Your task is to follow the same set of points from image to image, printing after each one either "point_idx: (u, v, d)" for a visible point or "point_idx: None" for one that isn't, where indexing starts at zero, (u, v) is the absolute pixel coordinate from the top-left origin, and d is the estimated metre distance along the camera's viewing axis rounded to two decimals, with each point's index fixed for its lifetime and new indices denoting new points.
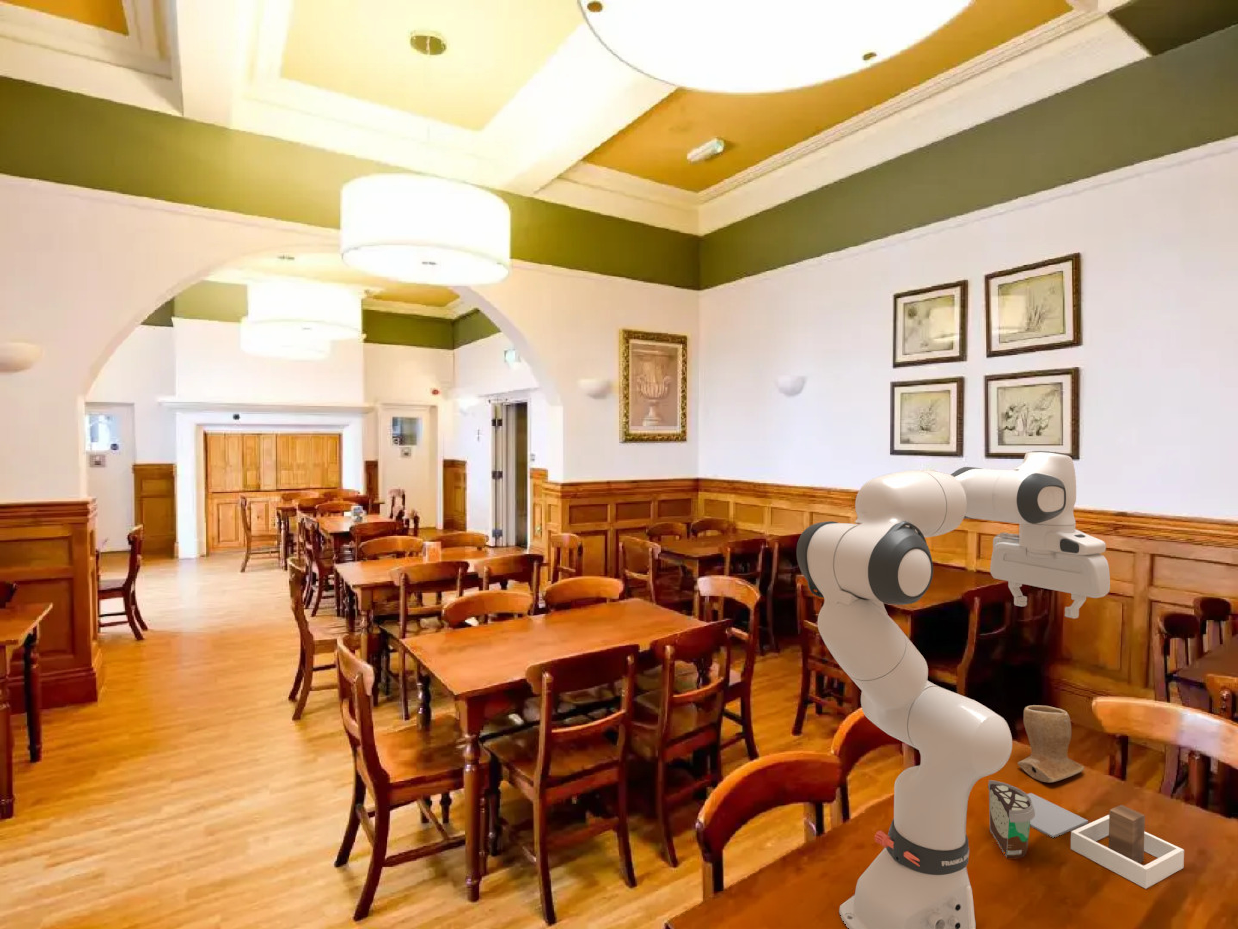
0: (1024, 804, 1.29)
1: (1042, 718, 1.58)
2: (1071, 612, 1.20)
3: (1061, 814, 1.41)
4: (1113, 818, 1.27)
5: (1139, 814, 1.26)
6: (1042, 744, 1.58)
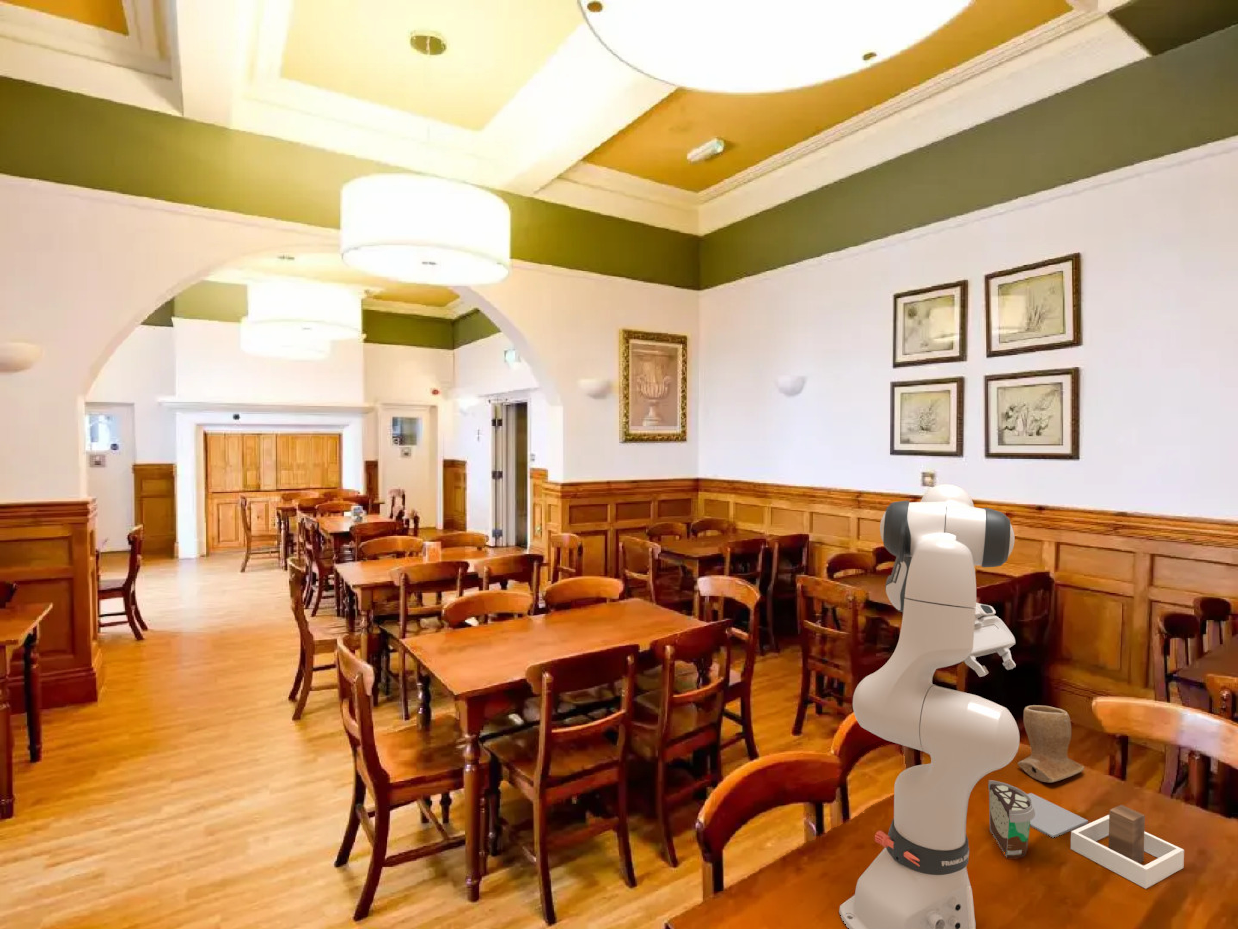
0: (1024, 804, 1.29)
1: (1042, 718, 1.58)
2: (1012, 661, 1.52)
3: (1061, 814, 1.41)
4: (1113, 818, 1.27)
5: (1139, 814, 1.26)
6: (1042, 744, 1.58)
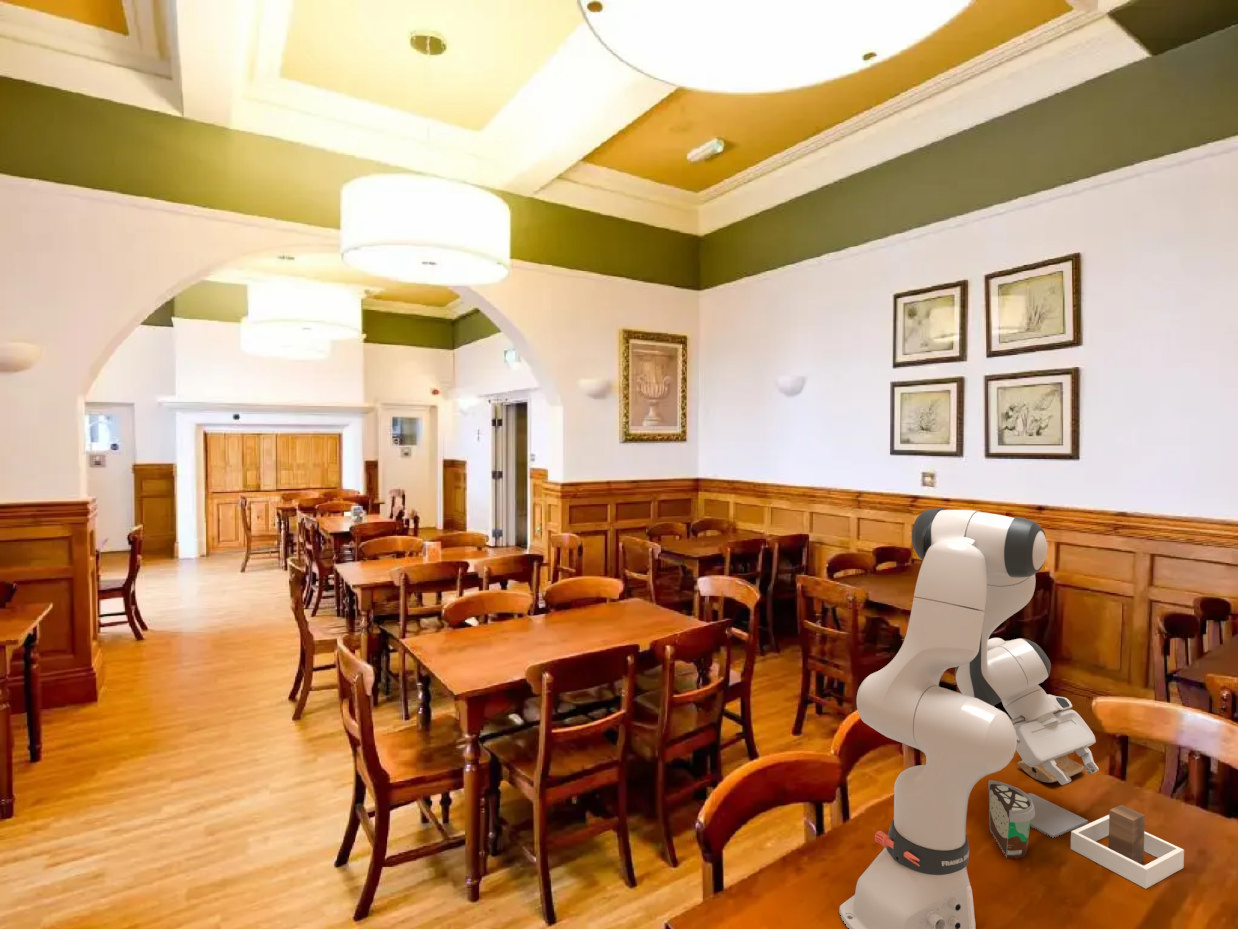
0: (1024, 804, 1.29)
1: None
2: (1094, 764, 1.37)
3: (1061, 814, 1.41)
4: (1113, 818, 1.27)
5: (1139, 814, 1.26)
6: None
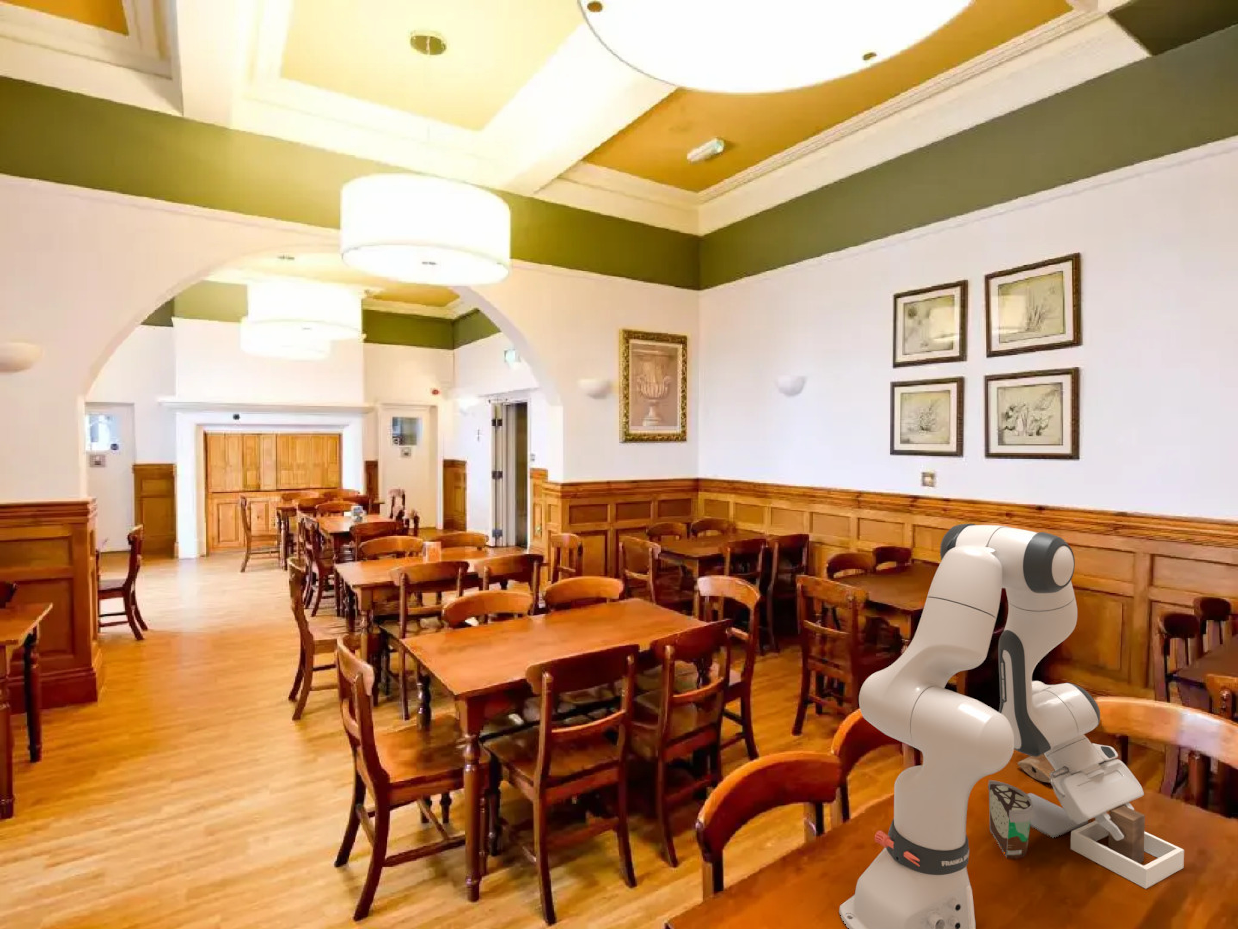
0: (1024, 804, 1.29)
1: None
2: None
3: (1061, 814, 1.41)
4: (1113, 818, 1.27)
5: (1139, 814, 1.26)
6: None
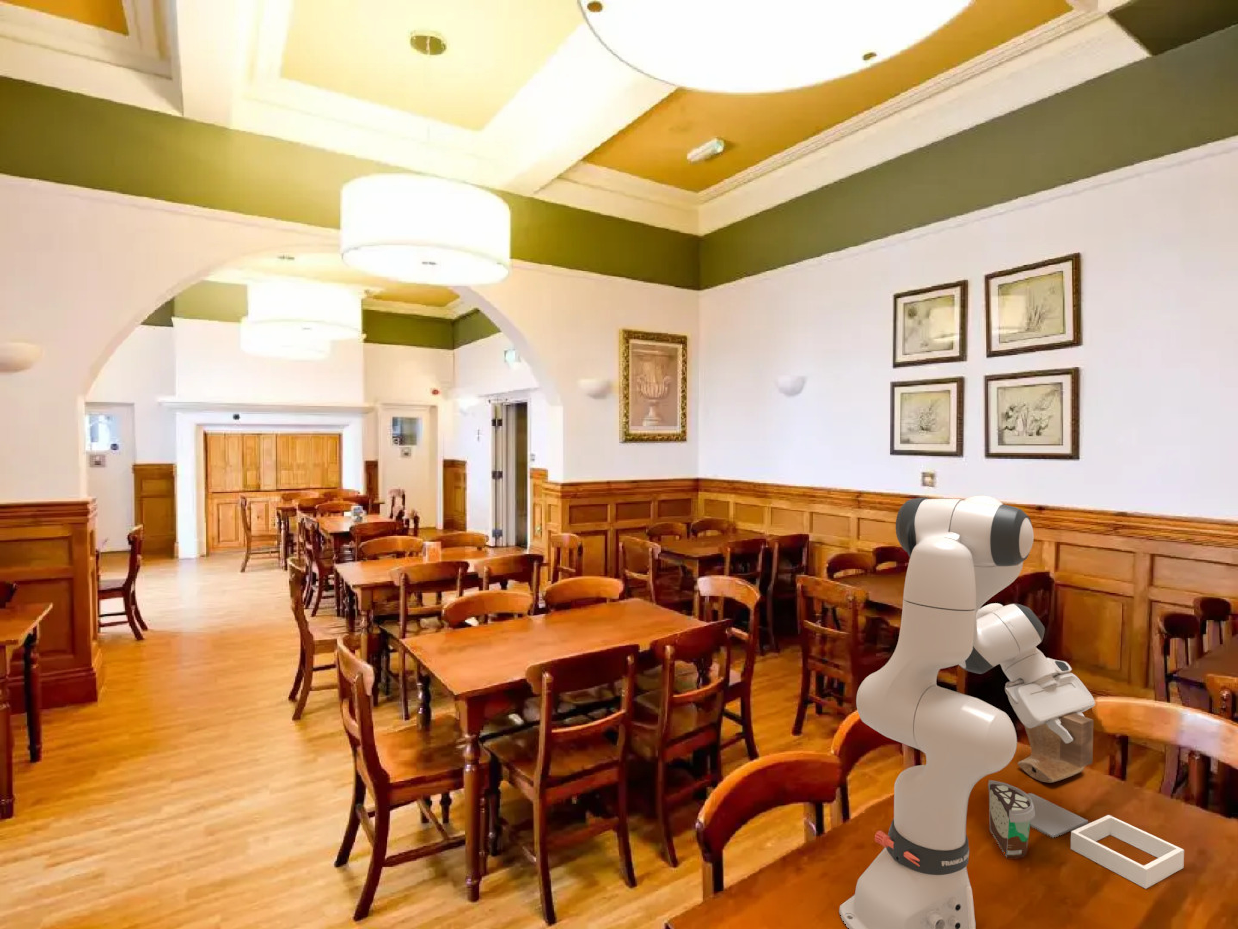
0: (1024, 804, 1.29)
1: None
2: None
3: (1061, 814, 1.41)
4: (1064, 723, 1.35)
5: (1088, 719, 1.34)
6: (1042, 744, 1.58)
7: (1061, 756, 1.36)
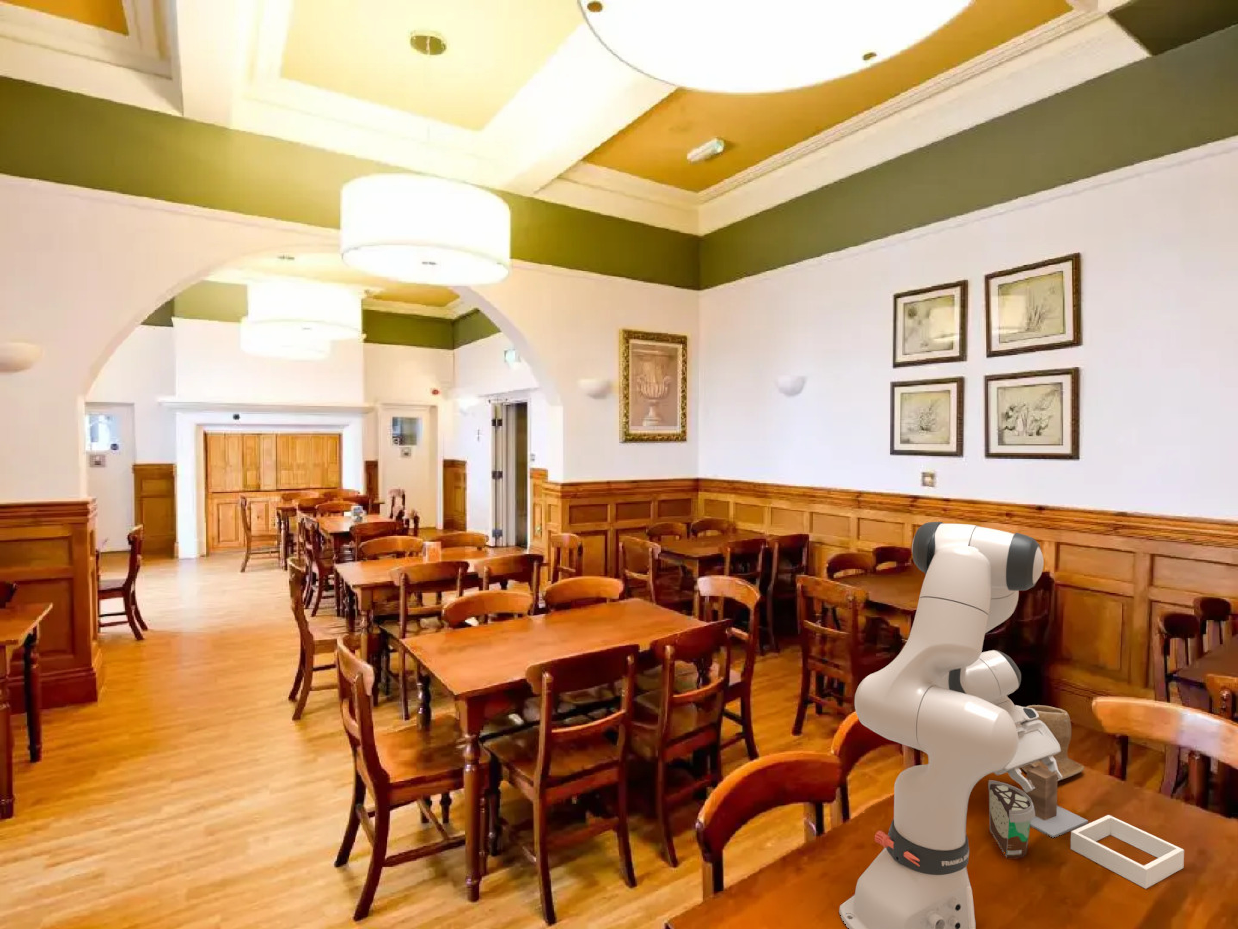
0: (1024, 804, 1.29)
1: (1042, 718, 1.58)
2: (1059, 773, 1.43)
3: (1061, 814, 1.41)
4: (1030, 777, 1.41)
5: (1052, 773, 1.40)
6: None
7: None
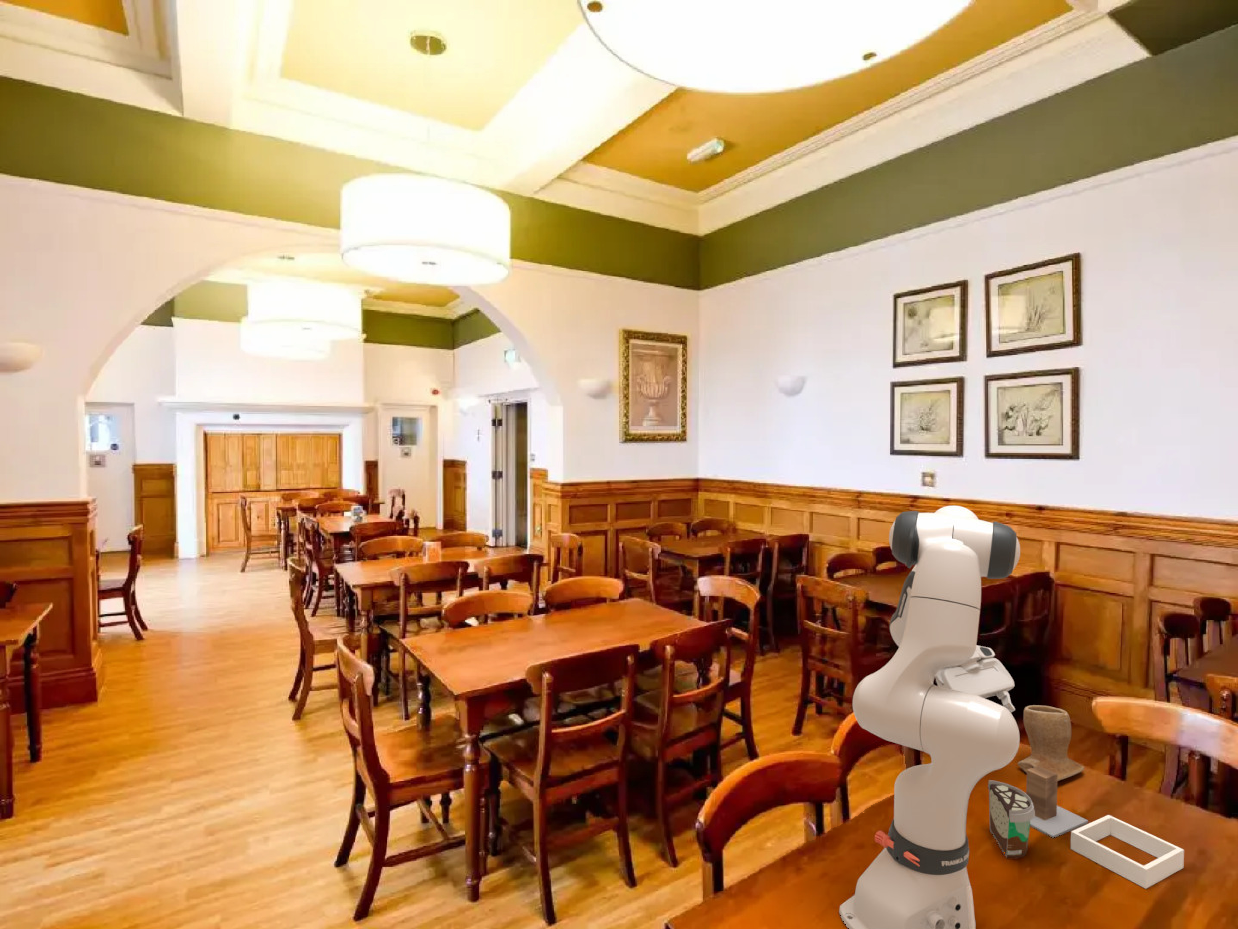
0: (1024, 804, 1.29)
1: (1042, 718, 1.58)
2: (1011, 705, 1.52)
3: (1061, 814, 1.41)
4: (1030, 777, 1.41)
5: (1052, 773, 1.40)
6: (1042, 744, 1.58)
7: None
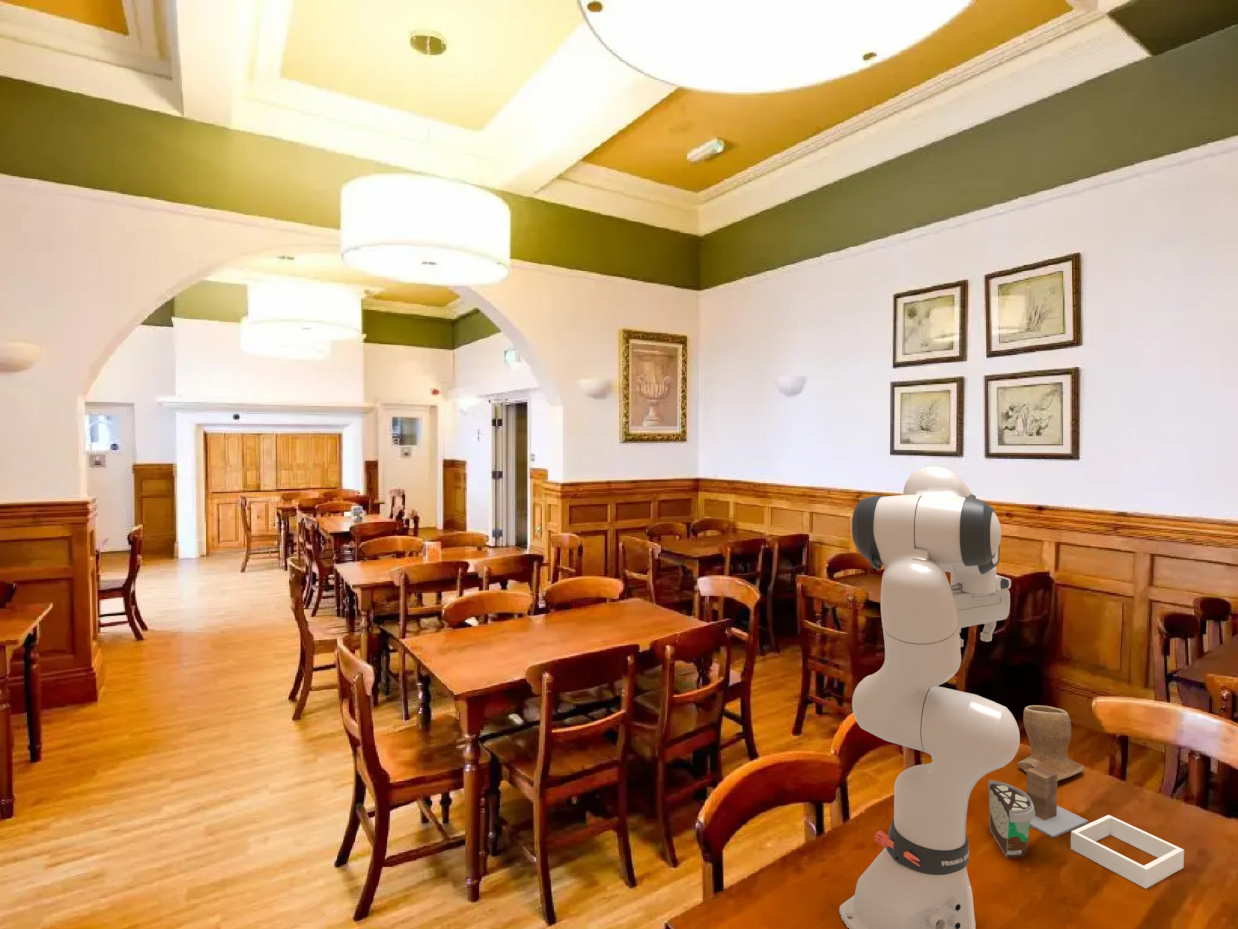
0: (1024, 804, 1.29)
1: (1042, 718, 1.58)
2: (991, 636, 1.48)
3: (1061, 814, 1.41)
4: (1030, 777, 1.41)
5: (1052, 773, 1.40)
6: (1042, 744, 1.58)
7: None
